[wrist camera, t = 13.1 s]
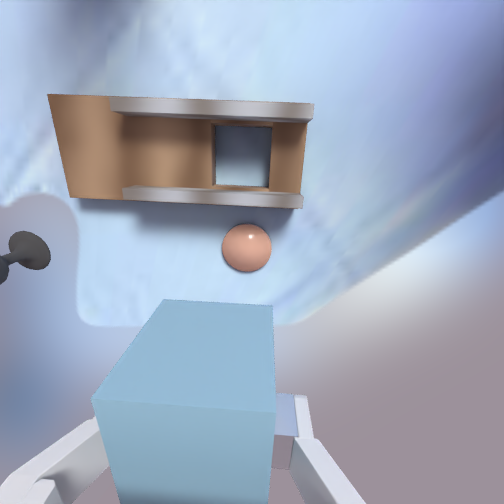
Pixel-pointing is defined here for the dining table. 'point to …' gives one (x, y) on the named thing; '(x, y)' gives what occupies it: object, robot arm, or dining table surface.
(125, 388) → the block
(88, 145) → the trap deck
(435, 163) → the dining table surface
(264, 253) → the peach round part
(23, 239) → the sundae
